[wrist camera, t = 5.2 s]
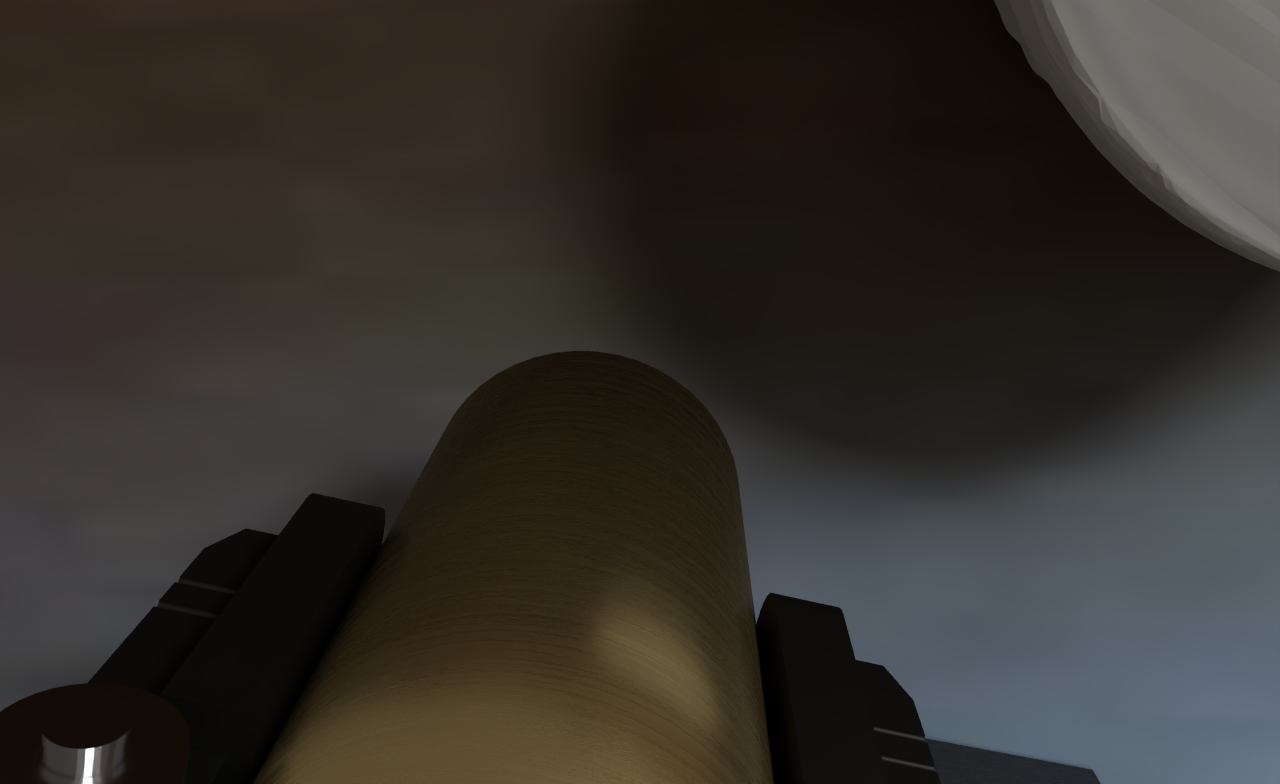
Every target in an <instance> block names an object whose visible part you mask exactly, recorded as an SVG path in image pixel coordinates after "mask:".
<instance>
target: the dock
mask: <svg viewBox="0 0 1280 784" xmlns="http://www.w3.org/2000/svg"><path fill="white" fill-rule="evenodd" d="M924 742H927V743H928V746H929V749H930V752H931V755H932V758H933V761H934V764H935V766H934V772H938V775H939V778H940V781H941V784H1100V782H1099V780H1098V778H1097V777H1096V775H1095V773H1094V771H1093V770H1091V769H1086V768H1080V767H1075V766H1070V765H1064V764H1059V763H1054V762H1048V761H1043V760H1038V759H1032V758H1027V757H1022V756H1016V755H1011V754H1005V753H1000V752H995V751H989V750H984V749H979V748H973V747H968V746H963V745H957V744H952V743H947V742H941V741H936V740H931V739H925V738H924Z"/></svg>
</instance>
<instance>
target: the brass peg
mask: <svg viewBox="0 0 1280 784" xmlns="http://www.w3.org/2000/svg"><path fill="white" fill-rule="evenodd" d="M252 784H775V776H774V768H773V760H772V752H771V744H770V736H769V727H768V719H767V711H766V703H765V695H764V687H763V678H762V670H761V662H760V654H759V646H758V638H757V629H756V621H755V613H754V605H753V597H752V589H751V580H750V572H749V564H748V556H747V548H746V540H745V531H744V523H743V515H742V507H741V499H740V491H739V482H738V475H737V471H736V466H735V462H734V458H733V455H732V453H731V450H730V447H729V445H728V442H727V440H726V438H725V436H724V434H723V433H722V431H721V429H720V427H719V425H718V424H717V422H716V421H715V419H714V418H713V417H712V415H711V414H710V413H709V411H708V410H707V409H706V407H705V406H704V405H703V404H702V403H701V402H700V401H699V400H698V399H697V398H696V397H695V396H694V395H693V394H692V393H691V392H690V391H689V390H687V389H686V388H685V387H683V386H682V385H681V384H680V383H678V382H677V381H676V380H674V379H673V378H671V377H669V376H668V375H666V374H664V373H663V372H661V371H659V370H657V369H655V368H653V367H651V366H648V365H646V364H644V363H641V362H639V361H637V360H633V359H630V358H626V357H623V356H619V355H615V354H608V353H602V352H593V351H569V352H559V353H552V354H547V355H543V356H538V357H534V358H531V359H529V360H526V361H523V362H520V363H518V364H515V365H513V366H511V367H509V368H507V369H505V370H503V371H502V372H500V373H498V374H496V375H495V376H493V377H492V378H490V379H489V380H488V381H486V382H485V383H483V384H482V385H481V386H480V387H478V388H477V389H476V390H475V391H474V392H473V393H472V394H471V395H470V396H469V397H468V398H467V399H466V400H465V401H464V402H463V404H462V405H461V406H460V407H459V409H458V410H457V411H456V412H455V414H454V415H453V417H452V419H451V420H450V422H449V424H448V425H447V427H446V429H445V431H444V432H443V434H442V436H441V438H440V440H439V442H438V443H437V445H436V447H435V449H434V451H433V453H432V454H431V456H430V458H429V460H428V462H427V464H426V465H425V467H424V469H423V471H422V473H421V475H420V476H419V478H418V480H417V482H416V484H415V486H414V487H413V489H412V491H411V493H410V495H409V497H408V498H407V500H406V502H405V504H404V506H403V508H402V509H401V511H400V513H399V515H398V517H397V519H396V521H395V522H394V524H393V526H392V528H391V530H390V532H389V533H388V535H387V537H386V539H385V541H384V543H383V544H382V546H381V548H380V550H379V552H378V554H377V555H376V557H375V559H374V561H373V563H372V565H371V566H370V568H369V570H368V572H367V574H366V576H365V577H364V579H363V581H362V583H361V585H360V587H359V588H358V590H357V592H356V594H355V596H354V598H353V599H352V601H351V603H350V605H349V607H348V609H347V610H346V612H345V614H344V616H343V618H342V620H341V621H340V623H339V625H338V627H337V629H336V631H335V632H334V634H333V636H332V638H331V640H330V642H329V643H328V645H327V647H326V649H325V651H324V653H323V654H322V656H321V658H320V660H319V662H318V664H317V665H316V667H315V669H314V671H313V673H312V675H311V676H310V678H309V680H308V682H307V684H306V686H305V687H304V689H303V691H302V693H301V695H300V697H299V698H298V700H297V702H296V704H295V706H294V708H293V710H292V711H291V713H290V715H289V717H288V719H287V721H286V722H285V724H284V726H283V728H282V730H281V732H280V733H279V735H278V737H277V739H276V741H275V743H274V744H273V746H272V748H271V750H270V752H269V754H268V755H267V757H266V759H265V761H264V763H263V765H262V766H261V768H260V770H259V772H258V774H257V776H256V777H255V779H254V781H253V783H252Z"/></svg>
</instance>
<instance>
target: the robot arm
mask: <svg viewBox="0 0 1280 784" xmlns="http://www.w3.org/2000/svg"><path fill="white" fill-rule="evenodd" d="M384 525H385V511H384V509H383V508H380V507H375V506H370V505H366V504H361V503H357V502H352V501H347V500H343V499H338V498H333V497H329V496H324V495H320V494H315V493H312V494H310V495H309V496H308V497H307V498H306V500H305V501H304V502H303V504H302V505H301V506H300V508H299V509H298V510H297V512H296V513H295V514H294V516H293V517H292V518H291V520H290V521H289V522H288V524H287V525H286V526H285V528H284V529H283V530H282V532H281V533H280V534H279V535H274V534H269V533H265V532H260V531H255V530H251V529H244V530H242V531H240V532H238V533H236V534H234V535H231V536H229V537H227V538H225V539H223V540H221V541H219V542H217V543H214V544H212V545H210V546H208V547H206V548H204V549H203V550H202V552H201V553H200V554H199V555H198V556H197V557H196V558H195V560H194V561H193V562H192V563H191V564H190V565H189V567H188V568H187V569H186V570H185V571H184V572H183V574H182V575H181V576H180V579H179V582H178V583H176V582H175V583H174V584H173V585H172V586H171V587H170V589H169V590H168V591H167V592H166V593H165V594H164V595H163V597H162V598H161V599H160V600H159V604H158V606H157V607H155V606H154V607H153V608H152V609H151V610H150V612H149V613H148V614H147V615H146V616H145V617H144V619H143V620H142V621H141V622H140V623H139V624H138V625H137V627H136V628H135V629H134V630H133V631H132V632H131V634H130V635H129V636H128V637H127V638H126V639H125V640H124V642H123V643H122V644H121V645H120V646H119V647H118V649H117V650H116V651H115V652H114V653H113V654H112V655H111V657H110V658H109V659H108V660H107V661H106V662H105V664H104V665H103V666H102V667H101V668H100V669H99V670H98V672H97V673H96V674H95V675H94V676H93V677H92V679H91V680H90V681H89V682H88V683H86V684H76V685H68V686H63V687H58V688H53V689H49V690H46V691H42V692H39V693H36V694H33V695H31V696H29V697H26V698H24V699H21V700H19V701H17V702H16V703H14V704H12V705H10V706H8V707H7V708H5V709H4V710H2V711H1V712H0V784H252V783H253V781H254V779H255V777H256V776H257V774H258V772H259V770H260V768H261V766H262V765H263V763H264V761H265V759H266V757H267V755H268V754H269V752H270V750H271V748H272V746H273V744H274V743H275V741H276V739H277V737H278V735H279V733H280V732H281V730H282V728H283V726H284V724H285V722H286V721H287V719H288V717H289V715H290V713H291V711H292V710H293V708H294V706H295V704H296V702H297V700H298V698H299V697H300V695H301V693H302V691H303V689H304V687H305V686H306V684H307V682H308V680H309V678H310V676H311V675H312V673H313V671H314V669H315V667H316V665H317V664H318V662H319V660H320V658H321V656H322V654H323V653H324V651H325V649H326V647H327V645H328V643H329V642H330V640H331V638H332V636H333V634H334V632H335V631H336V629H337V627H338V625H339V623H340V621H341V620H342V618H343V616H344V614H345V612H346V610H347V609H348V607H349V605H350V603H351V601H352V599H353V598H354V596H355V594H356V592H357V590H358V588H359V587H360V585H361V583H362V581H363V579H364V577H365V576H366V574H367V572H368V570H369V568H370V566H371V565H372V563H373V561H374V559H375V557H376V555H377V554H378V552H379V550H380V548H381V545H382V539H383V533H384ZM756 629H757V638H758V646H759V654H760V662H761V670H762V678H763V687H764V695H765V703H766V711H767V719H768V727H769V736H770V744H771V752H772V760H773V768H774V776H775V784H941V781H940V778H939V775H938V772H934V766H935V764H934V761H933V758H932V755H931V752H930V749H929V746H928V743H927V742H924V738H925V734H924V731H923V728H922V725H921V722H920V719H919V716H918V713H917V710H916V707H915V704H914V701H913V699H912V698H911V697H910V696H909V695H908V694H907V692H906V691H905V690H904V689H903V688H902V687H901V686H900V684H899V683H898V682H897V681H896V680H895V679H894V678H893V676H892V675H891V674H890V673H889V672H888V671H887V670H886V668H885V667H884V666H881V665H877V664H872V663H868V662H863V661H858V660H855V656H854V652H853V648H852V645H851V641H850V637H849V634H848V630H847V626H846V622H845V619H844V615H843V612H842V610H841V609H840V608H839V607H834V606H830V605H825V604H820V603H816V602H811V601H807V600H802V599H797V598H793V597H788V596H783V595H779V594H774V593H770V594H769V595H768V596H767V597H766V599H765V601H764V603H763V605H762V608H761V611H760V614H759V617H758V620H757V624H756Z"/></svg>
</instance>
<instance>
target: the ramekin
mask: <svg viewBox="0 0 1280 784" xmlns="http://www.w3.org/2000/svg"><path fill="white" fill-rule="evenodd" d="M994 2H995V4H996V5H997V8H998V10H999V12H1000V15H1001V18H1002V21H1003V23H1004V26H1005V28H1006V30H1007V31H1008V32H1009V33H1010V34H1011V36H1012V37H1013V38H1015V39H1016V40H1017V41H1018V42H1019V43H1020V45H1021V47H1022V49H1023V52H1024V54H1025V56H1026V59H1027V61H1028V63H1029V64H1030V66H1031V67H1032V69H1033V71H1034V72H1035V73H1037V74H1038V75H1039V76H1040V77H1042V78H1043V79H1044V80H1045V81H1046V82H1048V84H1049V85H1050V86H1051V88H1052V89H1053V91H1054V93H1055V95H1056V96H1057V98H1058V99H1059V100H1060V101H1061V102H1062V104H1063V105H1064V107H1065V108H1066V109H1067V111H1068V112H1069V114H1070V115H1071V117H1072V118H1073V119H1074V121H1075V122H1076V123H1077V124H1078V126H1079V127H1080V128H1081V129H1082V131H1083V132H1084V133H1085V134H1086V136H1087V137H1088V138H1089V140H1090V141H1091V142H1092V143H1093V145H1094V146H1095V147H1096V148H1097V150H1098V151H1099V152H1100V153H1101V154H1102V155H1103V156H1104V157H1105V158H1106V159H1107V160H1108V161H1109V162H1110V163H1111V164H1112V165H1113V166H1114V167H1115V168H1116V169H1117V170H1118V171H1119V172H1120V173H1121V174H1122V175H1123V176H1124V177H1125V178H1126V179H1127V180H1128V181H1129V182H1130V183H1131V184H1133V185H1134V186H1135V187H1136V188H1137V189H1138V190H1139V191H1140V192H1141V193H1143V194H1144V195H1145V196H1146V197H1147V198H1149V199H1150V200H1151V201H1153V202H1154V203H1155V204H1157V205H1158V206H1159V207H1161V208H1162V209H1163V210H1165V211H1166V212H1167V213H1169V214H1170V215H1172V216H1173V217H1174V218H1176V219H1177V220H1178V221H1180V222H1181V223H1182V224H1184V225H1186V226H1187V227H1189V228H1191V229H1192V230H1194V231H1196V232H1198V233H1199V234H1201V235H1203V236H1204V237H1206V238H1208V239H1210V240H1211V241H1213V242H1215V243H1216V244H1218V245H1220V246H1222V247H1224V248H1226V249H1228V250H1230V251H1232V252H1234V253H1236V254H1238V255H1241V256H1243V257H1245V258H1247V259H1249V260H1251V261H1253V262H1255V263H1258V264H1261V265H1263V266H1266V267H1268V268H1271V269H1274V270H1276V271H1279V272H1280V0H994Z"/></svg>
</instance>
